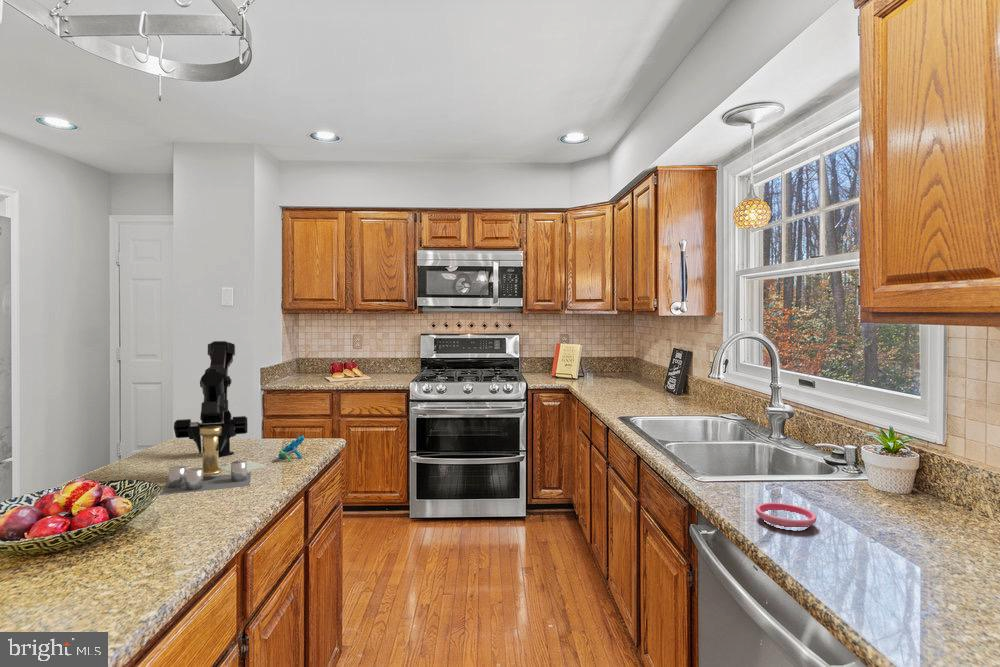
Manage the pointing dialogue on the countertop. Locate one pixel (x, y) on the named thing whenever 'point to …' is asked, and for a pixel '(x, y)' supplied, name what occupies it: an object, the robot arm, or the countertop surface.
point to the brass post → (210, 449)
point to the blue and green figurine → (291, 448)
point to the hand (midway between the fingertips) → (210, 451)
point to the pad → (250, 466)
